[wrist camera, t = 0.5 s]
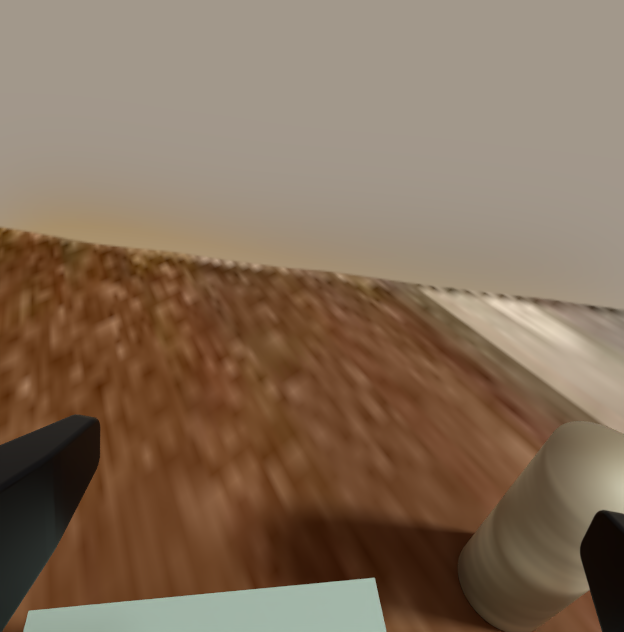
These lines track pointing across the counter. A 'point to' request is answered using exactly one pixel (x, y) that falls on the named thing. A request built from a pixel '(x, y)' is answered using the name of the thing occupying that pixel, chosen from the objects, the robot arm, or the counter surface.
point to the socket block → (229, 612)
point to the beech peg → (543, 529)
